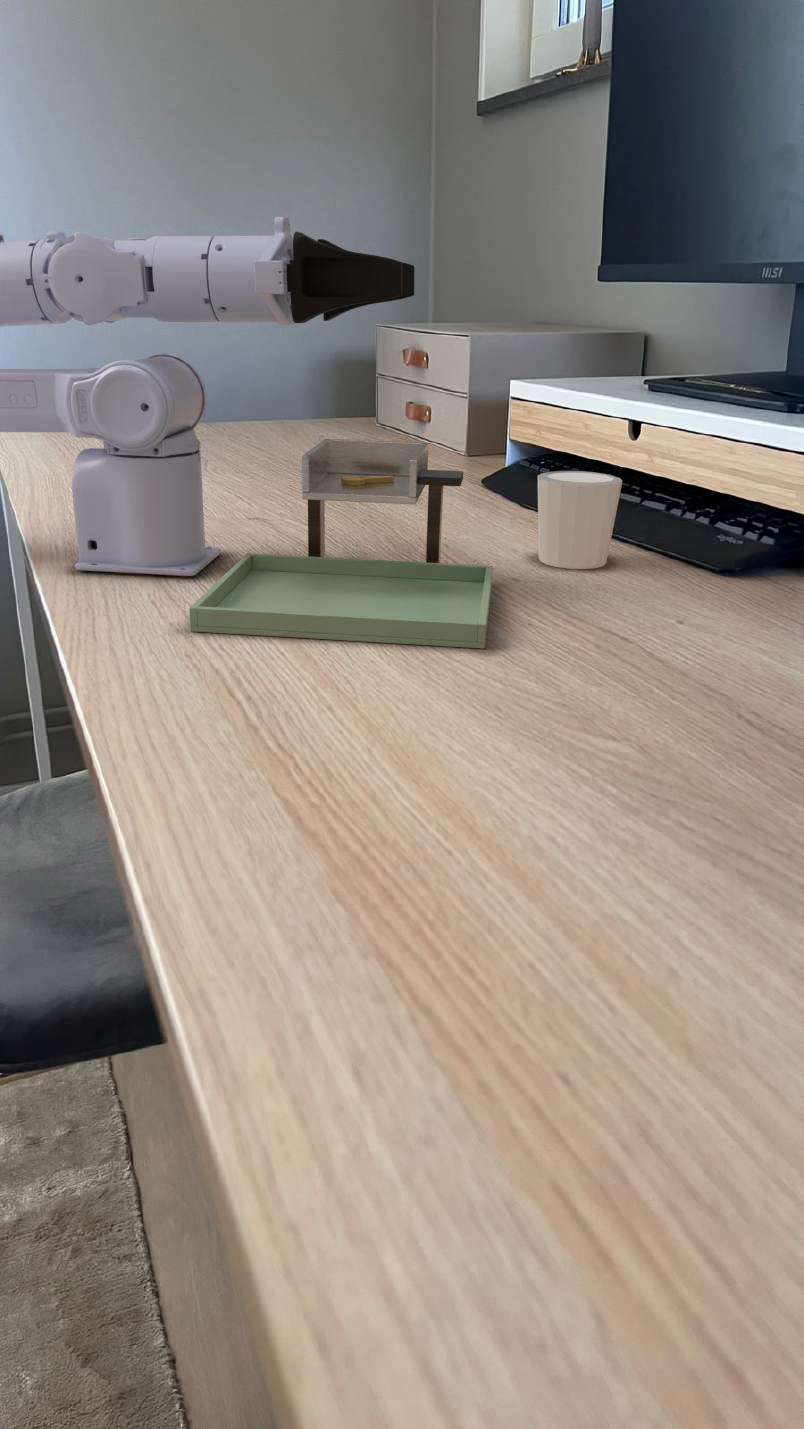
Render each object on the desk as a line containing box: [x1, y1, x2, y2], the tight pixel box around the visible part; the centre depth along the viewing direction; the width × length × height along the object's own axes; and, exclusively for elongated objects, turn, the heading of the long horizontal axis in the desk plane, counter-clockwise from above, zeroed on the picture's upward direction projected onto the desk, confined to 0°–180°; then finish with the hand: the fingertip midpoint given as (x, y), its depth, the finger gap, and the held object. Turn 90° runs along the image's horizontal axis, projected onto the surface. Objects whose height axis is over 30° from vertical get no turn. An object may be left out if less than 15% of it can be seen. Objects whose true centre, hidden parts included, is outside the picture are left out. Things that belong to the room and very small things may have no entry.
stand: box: [307, 485, 444, 563], centre depth 81 cm, size 10×2×8 cm, turn 84°
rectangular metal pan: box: [301, 438, 464, 506], centre depth 75 cm, size 11×9×3 cm
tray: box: [188, 552, 494, 650], centre depth 72 cm, size 19×15×2 cm
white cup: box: [537, 470, 623, 570], centre depth 86 cm, size 7×7×7 cm
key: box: [341, 475, 394, 485], centre depth 76 cm, size 4×2×1 cm, turn 114°
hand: (408, 279), depth 72 cm, fingers open, 7 cm apart
